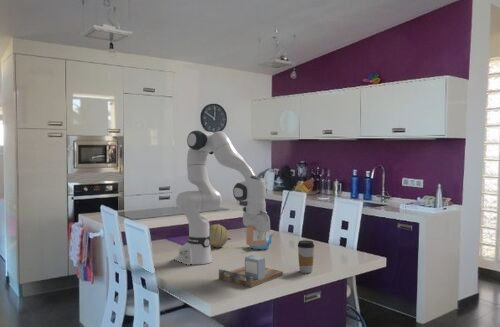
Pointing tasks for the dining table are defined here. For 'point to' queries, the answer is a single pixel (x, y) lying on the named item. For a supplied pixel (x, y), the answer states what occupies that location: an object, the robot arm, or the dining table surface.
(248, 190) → the robot arm
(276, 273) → the shelf plank
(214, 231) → the cantaloupe
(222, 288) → the dining table surface
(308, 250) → the coffee cup
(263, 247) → the teapot
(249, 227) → the terracotta carton
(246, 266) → the slate-blue carton
